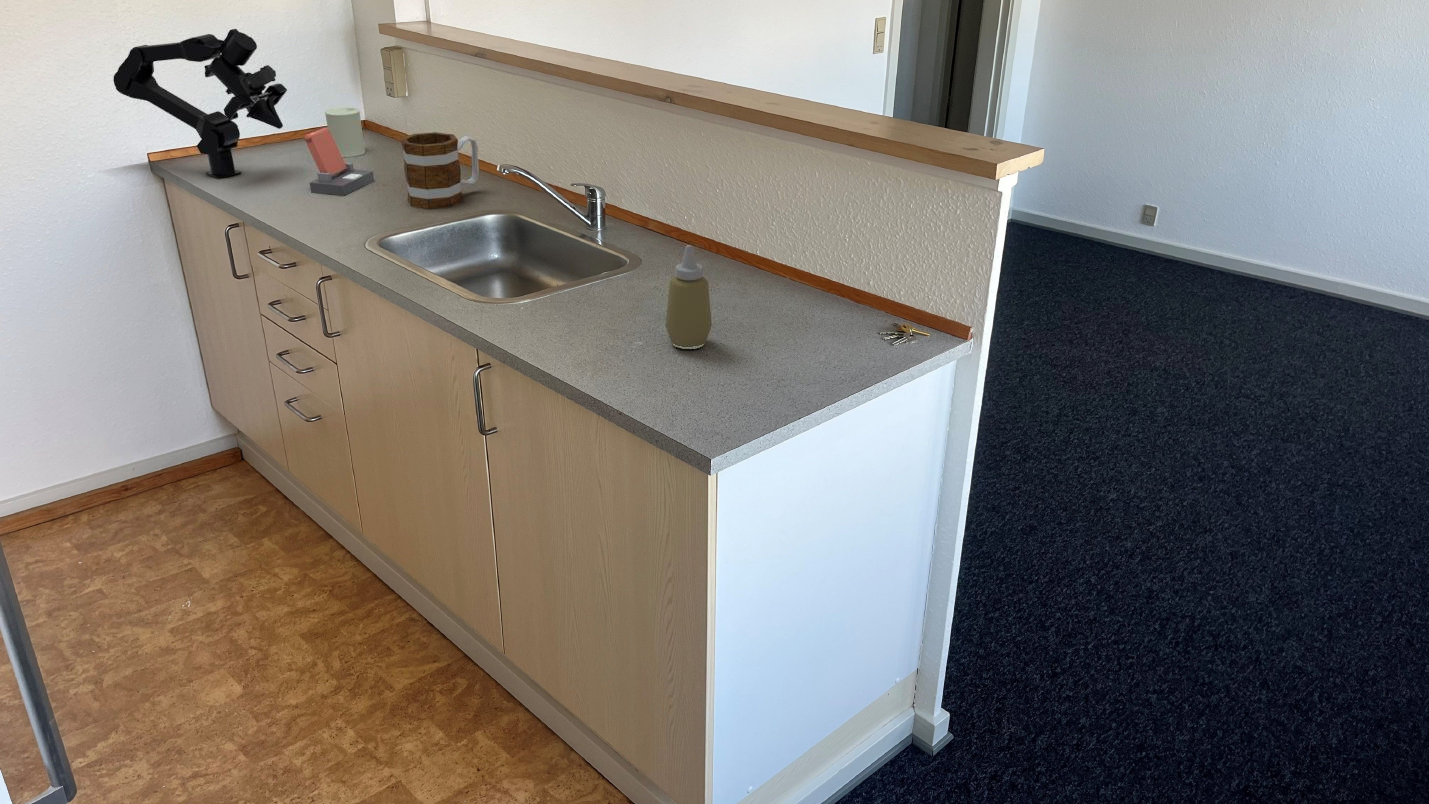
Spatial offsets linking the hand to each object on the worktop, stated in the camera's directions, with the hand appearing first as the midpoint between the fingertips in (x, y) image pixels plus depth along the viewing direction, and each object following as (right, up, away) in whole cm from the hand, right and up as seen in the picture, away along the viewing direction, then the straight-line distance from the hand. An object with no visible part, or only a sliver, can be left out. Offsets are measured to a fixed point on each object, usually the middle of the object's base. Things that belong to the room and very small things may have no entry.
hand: (281, 127), depth 262 cm
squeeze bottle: (+103, -58, -77) cm, 141 cm away
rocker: (+13, -12, +2) cm, 17 cm away
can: (+6, +1, +32) cm, 32 cm away
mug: (+42, -19, -4) cm, 46 cm away
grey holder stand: (+14, -14, +3) cm, 20 cm away
